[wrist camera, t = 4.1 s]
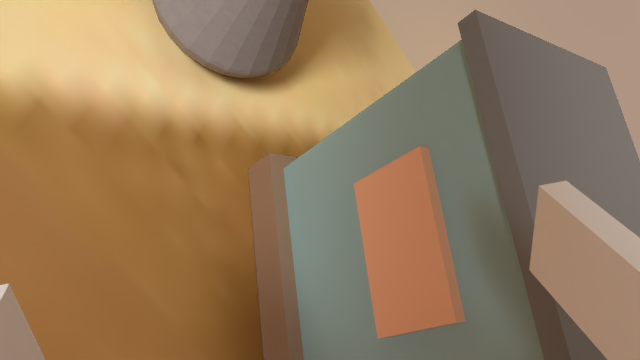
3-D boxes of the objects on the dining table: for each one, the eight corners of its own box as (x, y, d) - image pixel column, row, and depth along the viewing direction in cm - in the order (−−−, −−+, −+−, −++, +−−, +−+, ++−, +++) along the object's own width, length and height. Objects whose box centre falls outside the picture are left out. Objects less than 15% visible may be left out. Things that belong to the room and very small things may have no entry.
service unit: (270, 450, 32) (590, 463, 17) (248, 169, 38) (465, -3, 23) (416, 420, 38) (734, 410, 24) (376, 186, 45) (607, 61, 30)
